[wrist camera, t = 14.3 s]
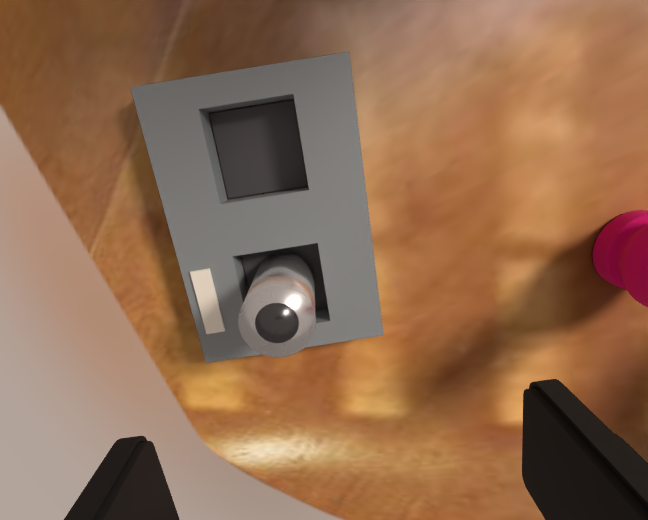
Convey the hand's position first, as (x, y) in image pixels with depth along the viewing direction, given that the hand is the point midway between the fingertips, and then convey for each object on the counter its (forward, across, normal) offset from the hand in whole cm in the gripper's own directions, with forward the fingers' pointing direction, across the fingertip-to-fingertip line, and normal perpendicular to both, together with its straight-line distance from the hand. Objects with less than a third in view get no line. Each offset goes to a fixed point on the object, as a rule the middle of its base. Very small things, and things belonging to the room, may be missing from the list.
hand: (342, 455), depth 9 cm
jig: (+21, +4, -2) cm, 22 cm away
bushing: (+21, +3, +2) cm, 21 cm away
